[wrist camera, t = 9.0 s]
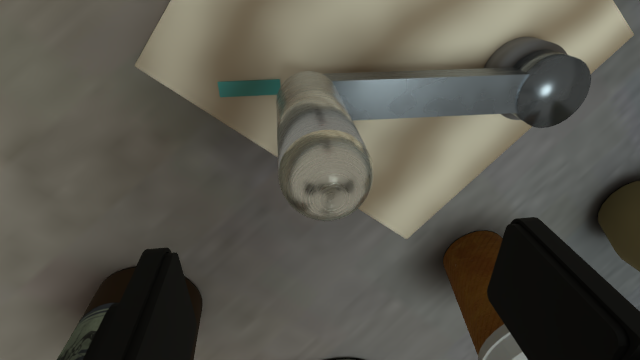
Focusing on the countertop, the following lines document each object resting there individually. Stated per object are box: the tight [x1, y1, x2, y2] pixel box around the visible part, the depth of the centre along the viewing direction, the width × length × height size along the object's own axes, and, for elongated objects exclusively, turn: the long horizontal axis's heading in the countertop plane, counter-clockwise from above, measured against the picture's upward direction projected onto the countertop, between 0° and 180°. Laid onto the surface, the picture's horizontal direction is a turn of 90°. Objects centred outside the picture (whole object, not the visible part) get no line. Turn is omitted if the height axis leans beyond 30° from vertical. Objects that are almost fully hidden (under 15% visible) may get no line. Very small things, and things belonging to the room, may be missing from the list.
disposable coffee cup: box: [443, 231, 528, 360], centre depth 31 cm, size 10×10×12 cm
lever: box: [276, 49, 591, 221], centre depth 18 cm, size 19×4×12 cm, turn 90°
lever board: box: [135, 0, 634, 239], centre depth 23 cm, size 25×22×3 cm
